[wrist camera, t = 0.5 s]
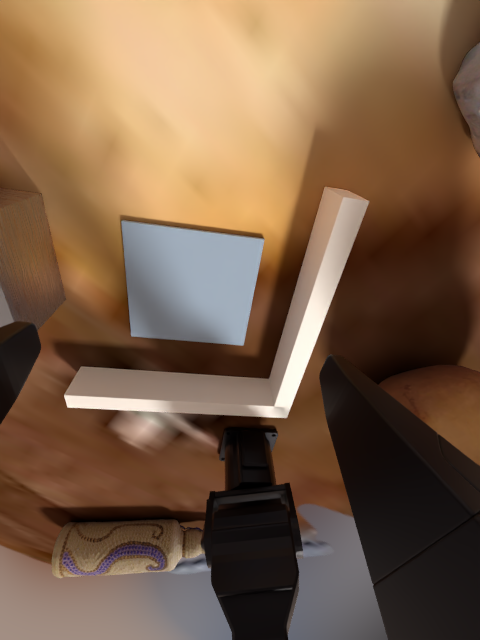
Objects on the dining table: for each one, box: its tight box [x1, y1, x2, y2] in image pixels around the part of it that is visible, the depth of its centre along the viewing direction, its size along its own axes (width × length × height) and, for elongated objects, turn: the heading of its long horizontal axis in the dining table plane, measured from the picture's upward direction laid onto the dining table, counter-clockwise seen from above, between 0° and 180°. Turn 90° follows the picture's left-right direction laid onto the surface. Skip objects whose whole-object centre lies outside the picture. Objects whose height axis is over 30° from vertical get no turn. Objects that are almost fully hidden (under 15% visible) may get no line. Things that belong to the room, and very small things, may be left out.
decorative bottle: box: [52, 519, 205, 578], centre depth 45 cm, size 26×8×7 cm, turn 84°
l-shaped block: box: [64, 187, 369, 418], centre depth 22 cm, size 20×20×4 cm
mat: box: [121, 220, 264, 345], centre depth 23 cm, size 10×10×1 cm
